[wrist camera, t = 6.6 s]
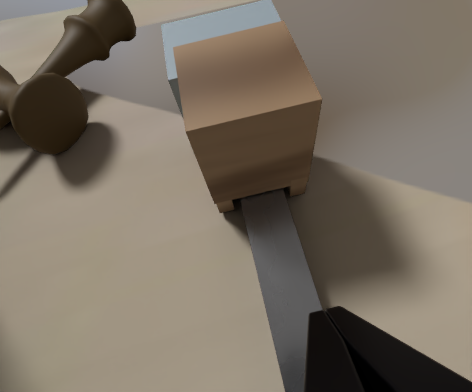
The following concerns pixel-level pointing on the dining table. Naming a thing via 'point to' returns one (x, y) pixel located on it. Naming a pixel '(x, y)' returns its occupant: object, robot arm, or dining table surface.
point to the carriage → (249, 112)
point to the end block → (212, 31)
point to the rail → (282, 280)
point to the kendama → (63, 79)
